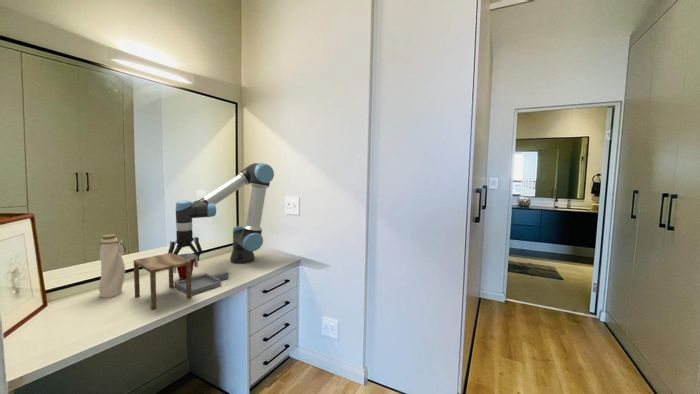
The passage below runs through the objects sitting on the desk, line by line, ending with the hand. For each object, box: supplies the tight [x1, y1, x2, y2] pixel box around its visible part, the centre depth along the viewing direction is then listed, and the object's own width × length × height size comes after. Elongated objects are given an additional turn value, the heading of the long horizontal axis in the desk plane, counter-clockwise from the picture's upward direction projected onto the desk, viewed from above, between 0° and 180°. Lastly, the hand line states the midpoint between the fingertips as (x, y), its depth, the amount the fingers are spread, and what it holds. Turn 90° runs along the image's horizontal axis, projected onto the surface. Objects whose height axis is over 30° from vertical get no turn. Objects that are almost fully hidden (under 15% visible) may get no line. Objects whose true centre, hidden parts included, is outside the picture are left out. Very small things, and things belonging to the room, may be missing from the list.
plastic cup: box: [176, 252, 196, 280], centre depth 157 cm, size 11×11×12 cm
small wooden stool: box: [133, 252, 192, 311], centre depth 133 cm, size 16×20×17 cm
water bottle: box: [98, 233, 127, 298], centre depth 134 cm, size 10×9×28 cm
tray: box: [174, 271, 229, 296], centre depth 150 cm, size 24×16×3 cm, turn 144°
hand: (185, 269), depth 157 cm, fingers closed on plastic cup, 10 cm apart
